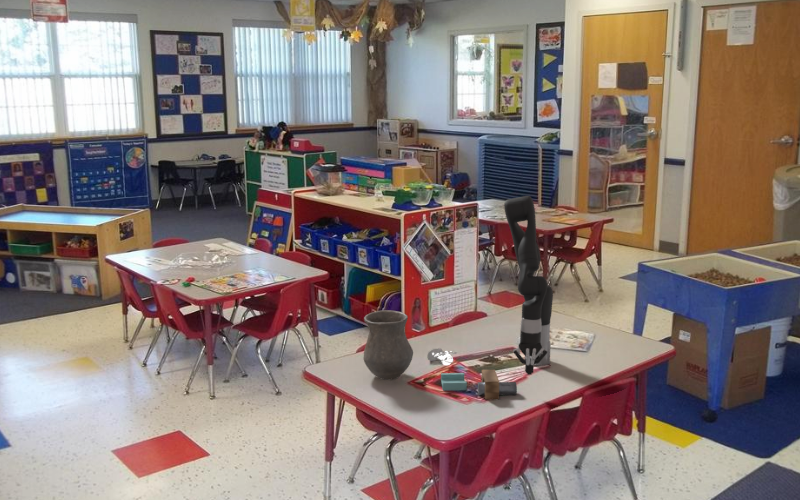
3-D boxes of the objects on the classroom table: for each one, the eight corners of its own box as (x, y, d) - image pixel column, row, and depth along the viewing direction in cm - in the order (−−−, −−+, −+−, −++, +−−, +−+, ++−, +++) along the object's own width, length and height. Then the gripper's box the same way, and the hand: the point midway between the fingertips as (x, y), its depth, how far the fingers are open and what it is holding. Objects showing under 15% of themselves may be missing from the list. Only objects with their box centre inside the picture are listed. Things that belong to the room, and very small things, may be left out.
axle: (514, 391, 292) (514, 379, 291) (516, 397, 287) (517, 385, 286) (477, 392, 292) (477, 380, 291) (479, 397, 287) (479, 385, 286)
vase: (402, 388, 295) (402, 326, 290) (356, 382, 302) (355, 321, 296) (419, 370, 313) (419, 311, 308) (375, 365, 320) (374, 307, 314)
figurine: (441, 346, 329) (459, 349, 319) (442, 361, 329) (460, 364, 319) (424, 349, 324) (441, 352, 314) (424, 364, 324) (442, 367, 314)
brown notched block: (494, 386, 296) (494, 369, 295) (498, 399, 285) (499, 381, 283) (481, 386, 296) (481, 369, 295) (485, 399, 285) (485, 381, 283)
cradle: (463, 380, 303) (464, 373, 302) (466, 390, 293) (466, 382, 293) (441, 380, 303) (441, 373, 302) (442, 390, 293) (442, 383, 293)
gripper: (546, 326, 288) (545, 370, 292) (511, 326, 288) (510, 370, 292) (550, 332, 281) (548, 377, 284) (514, 332, 281) (512, 377, 284)
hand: (529, 373), depth 288 cm, fingers closed
